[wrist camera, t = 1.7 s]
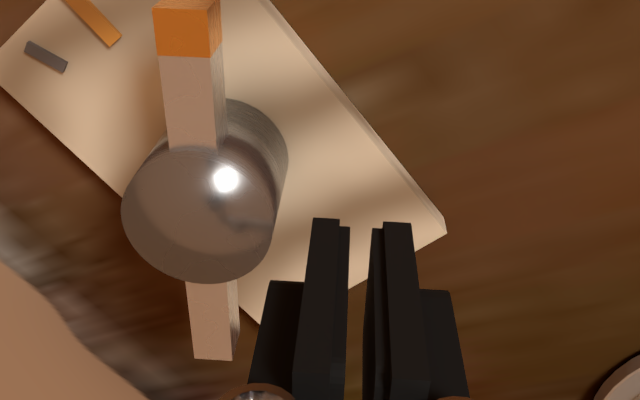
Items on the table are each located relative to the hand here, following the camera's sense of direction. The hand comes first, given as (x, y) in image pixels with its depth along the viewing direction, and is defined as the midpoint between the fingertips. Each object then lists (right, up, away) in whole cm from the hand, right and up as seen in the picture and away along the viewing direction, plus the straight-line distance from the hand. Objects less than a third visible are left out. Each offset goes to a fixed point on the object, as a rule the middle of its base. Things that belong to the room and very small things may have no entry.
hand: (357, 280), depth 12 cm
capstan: (-5, +4, +16) cm, 17 cm away
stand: (-5, +5, +18) cm, 19 cm away
